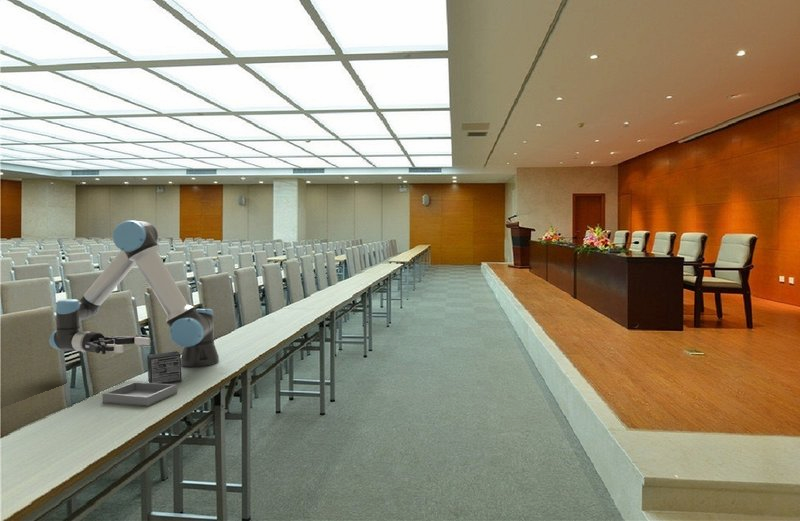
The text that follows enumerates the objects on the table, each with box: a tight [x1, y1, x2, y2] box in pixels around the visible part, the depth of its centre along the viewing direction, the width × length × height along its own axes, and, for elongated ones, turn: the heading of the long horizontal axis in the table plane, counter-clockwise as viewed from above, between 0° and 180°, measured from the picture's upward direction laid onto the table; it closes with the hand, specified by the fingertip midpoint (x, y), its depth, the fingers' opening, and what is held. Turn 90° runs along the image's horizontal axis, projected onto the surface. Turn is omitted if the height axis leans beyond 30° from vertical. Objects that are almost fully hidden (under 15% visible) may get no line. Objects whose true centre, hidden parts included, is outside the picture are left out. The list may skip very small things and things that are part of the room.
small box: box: [147, 350, 183, 384], centre depth 187 cm, size 11×6×10 cm, turn 125°
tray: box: [101, 381, 178, 408], centre depth 169 cm, size 14×17×3 cm
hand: (136, 345), depth 189 cm, fingers open, 13 cm apart
